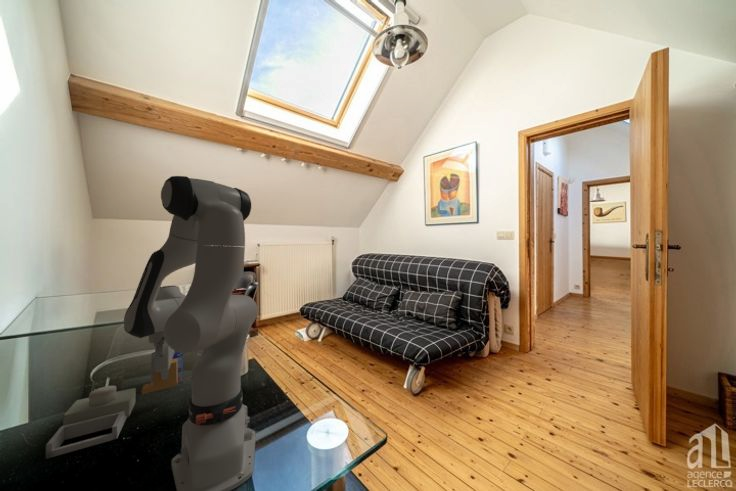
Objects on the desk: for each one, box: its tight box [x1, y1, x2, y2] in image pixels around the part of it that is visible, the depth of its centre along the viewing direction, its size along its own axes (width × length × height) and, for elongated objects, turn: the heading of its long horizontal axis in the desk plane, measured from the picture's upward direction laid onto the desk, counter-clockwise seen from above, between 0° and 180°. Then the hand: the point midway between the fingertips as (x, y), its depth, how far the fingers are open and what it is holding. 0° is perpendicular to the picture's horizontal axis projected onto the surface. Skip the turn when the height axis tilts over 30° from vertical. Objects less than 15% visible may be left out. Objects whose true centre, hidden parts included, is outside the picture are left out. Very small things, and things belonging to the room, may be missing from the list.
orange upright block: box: [141, 358, 178, 395], centre depth 88 cm, size 4×9×8 cm, turn 122°
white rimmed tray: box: [45, 385, 137, 460], centre depth 77 cm, size 20×14×8 cm
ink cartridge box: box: [149, 351, 184, 384], centre depth 103 cm, size 10×6×14 cm, turn 78°
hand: (166, 375), depth 88 cm, fingers closed on orange upright block, 4 cm apart
